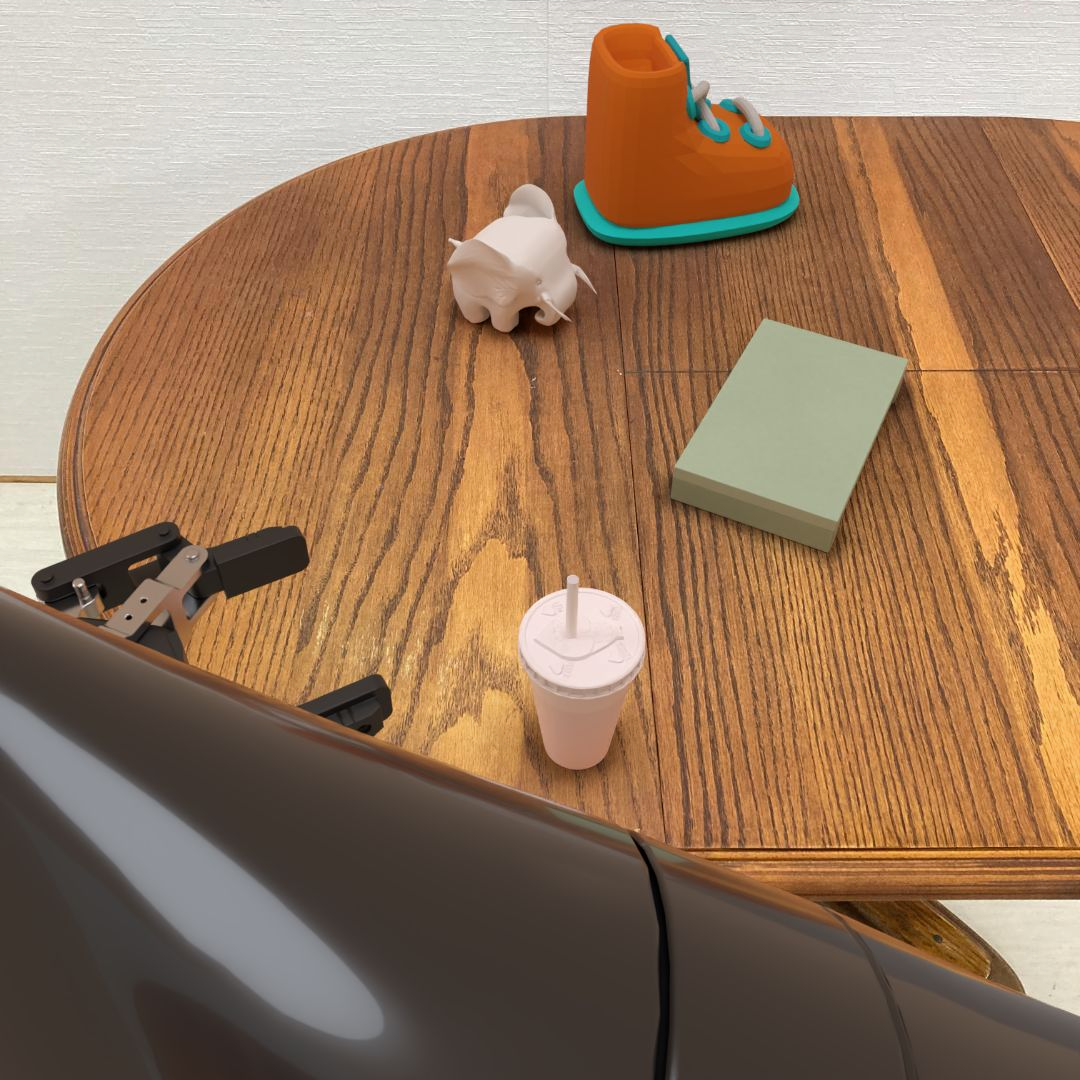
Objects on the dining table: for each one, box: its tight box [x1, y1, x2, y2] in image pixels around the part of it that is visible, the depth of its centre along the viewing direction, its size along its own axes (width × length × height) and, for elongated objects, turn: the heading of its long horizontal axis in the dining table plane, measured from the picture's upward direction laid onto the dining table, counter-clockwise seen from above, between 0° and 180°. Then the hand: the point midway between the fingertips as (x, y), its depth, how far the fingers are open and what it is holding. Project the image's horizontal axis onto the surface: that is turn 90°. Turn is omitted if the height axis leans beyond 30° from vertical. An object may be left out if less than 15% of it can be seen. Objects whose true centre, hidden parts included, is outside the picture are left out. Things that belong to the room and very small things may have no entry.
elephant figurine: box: [445, 183, 598, 333], centre depth 85 cm, size 10×12×9 cm
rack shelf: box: [670, 317, 910, 554], centre depth 77 cm, size 18×11×3 cm, turn 153°
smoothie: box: [517, 574, 646, 771], centre depth 57 cm, size 6×6×14 cm
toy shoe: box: [573, 22, 800, 247], centre depth 93 cm, size 12×20×15 cm, turn 103°
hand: (343, 615), depth 44 cm, fingers open, 8 cm apart
